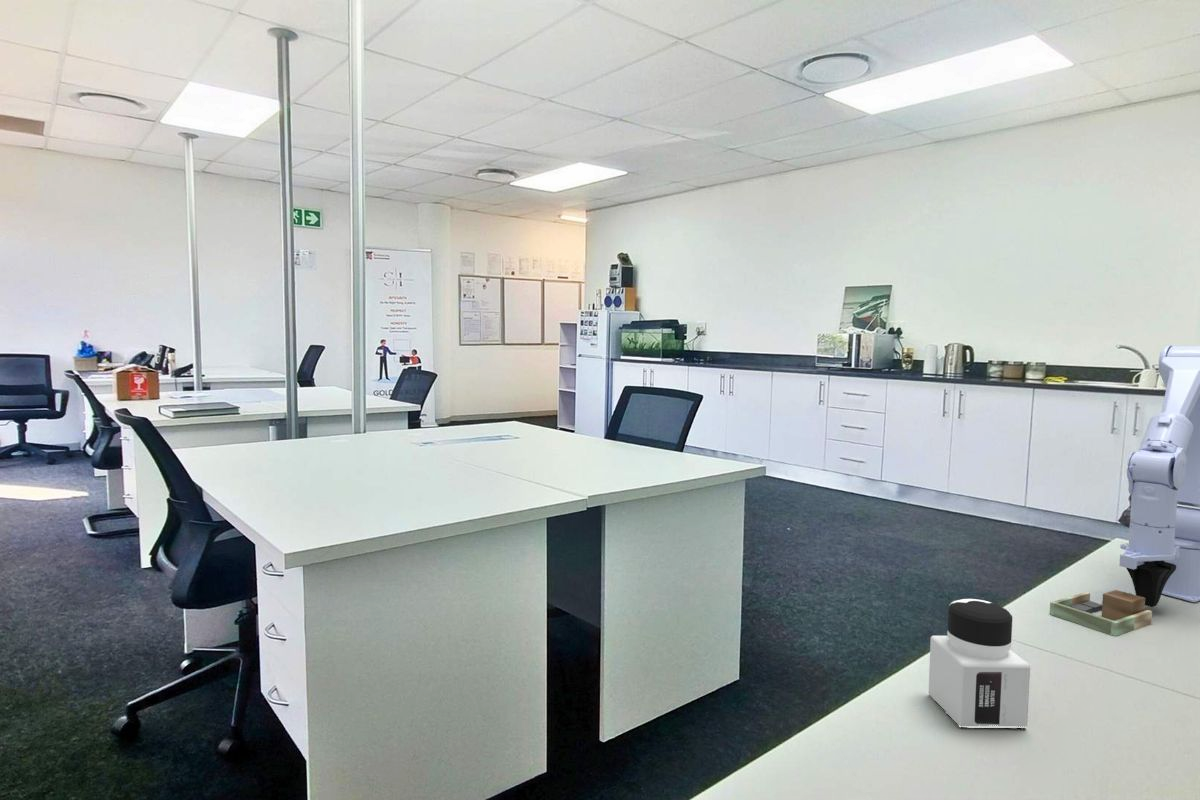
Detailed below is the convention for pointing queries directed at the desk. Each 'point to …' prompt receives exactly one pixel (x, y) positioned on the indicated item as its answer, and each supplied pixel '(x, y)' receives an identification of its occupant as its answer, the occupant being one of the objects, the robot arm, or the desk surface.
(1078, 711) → the desk surface
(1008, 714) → the container
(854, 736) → the desk surface
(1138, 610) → the block
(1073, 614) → the green beige u-shaped frame
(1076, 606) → the tiles
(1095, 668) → the desk surface
